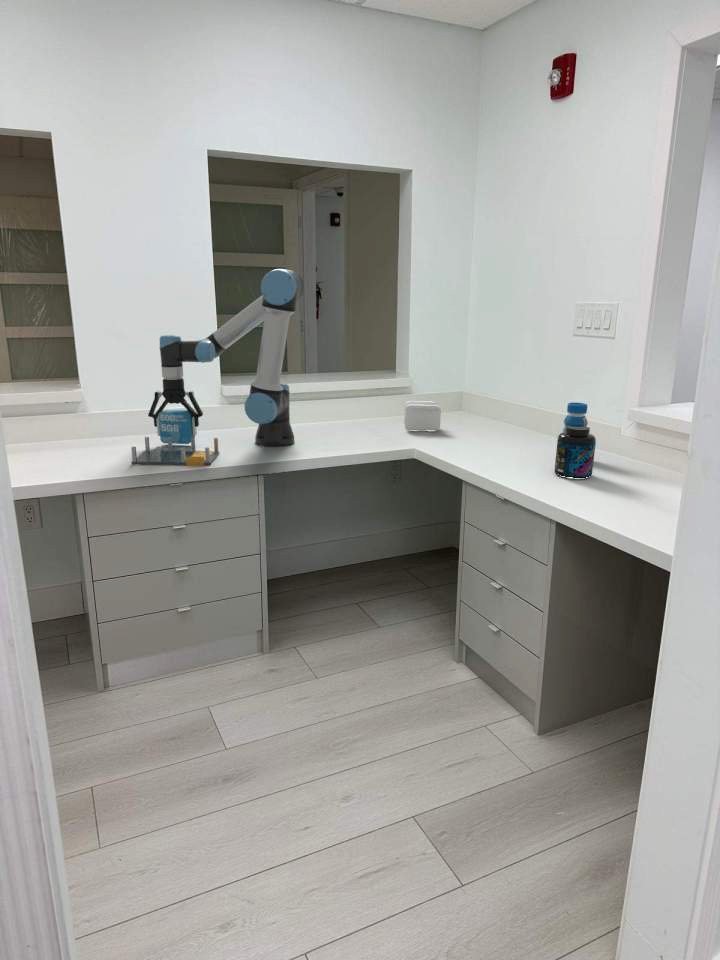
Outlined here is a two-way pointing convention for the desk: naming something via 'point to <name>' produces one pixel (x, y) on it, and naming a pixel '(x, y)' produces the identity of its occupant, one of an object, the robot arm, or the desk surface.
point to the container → (575, 452)
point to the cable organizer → (422, 415)
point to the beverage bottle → (575, 415)
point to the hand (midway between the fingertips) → (177, 435)
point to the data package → (176, 426)
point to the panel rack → (175, 455)
